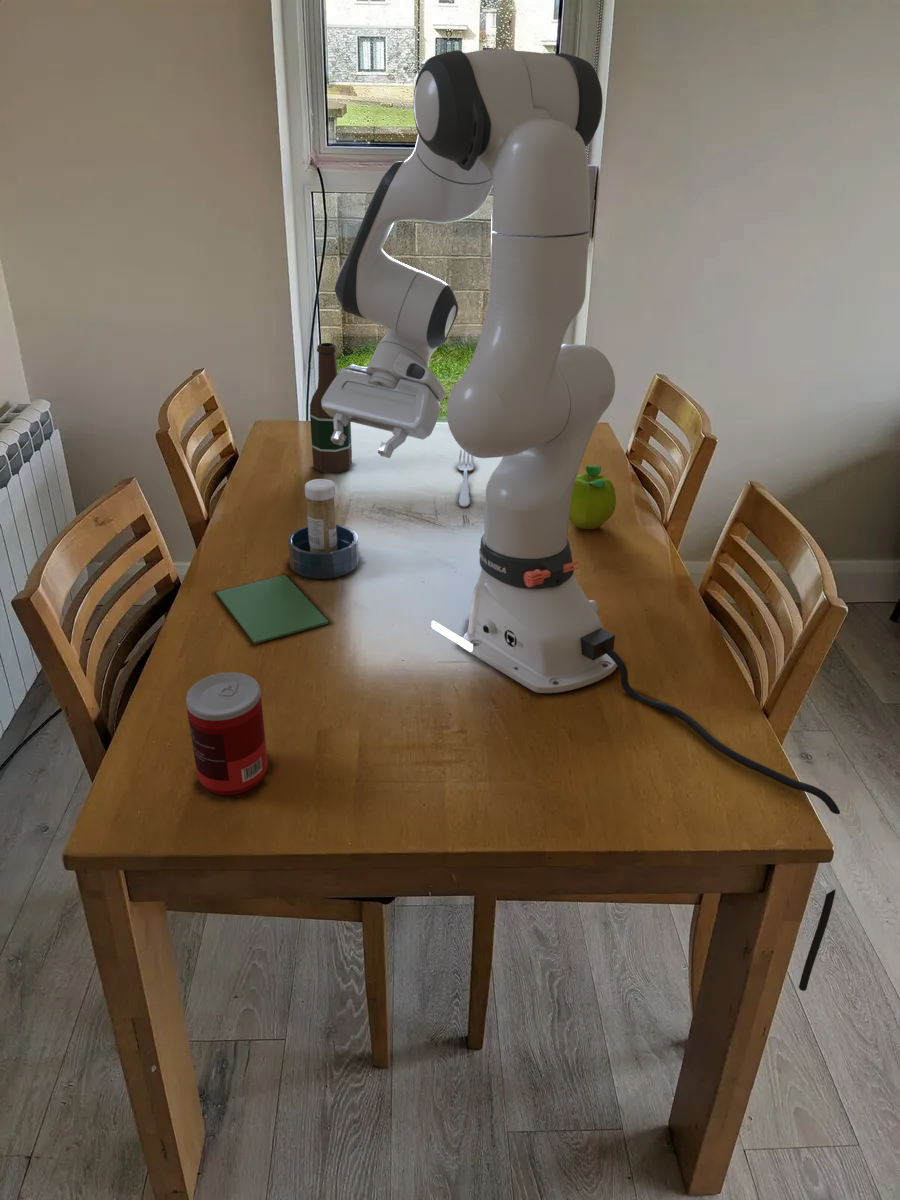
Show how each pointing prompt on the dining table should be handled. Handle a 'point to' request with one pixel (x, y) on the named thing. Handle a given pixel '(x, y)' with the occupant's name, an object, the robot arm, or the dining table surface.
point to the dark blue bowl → (323, 555)
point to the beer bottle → (327, 419)
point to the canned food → (227, 732)
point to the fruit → (592, 499)
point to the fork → (465, 480)
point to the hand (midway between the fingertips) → (359, 449)
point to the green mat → (271, 609)
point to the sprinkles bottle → (321, 515)
